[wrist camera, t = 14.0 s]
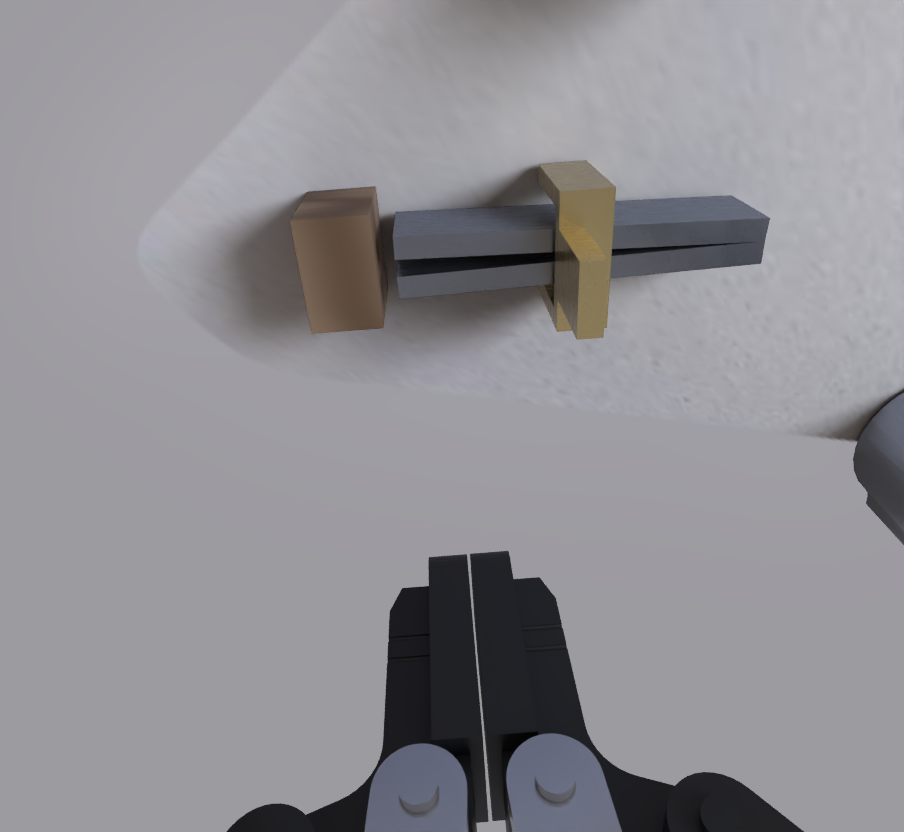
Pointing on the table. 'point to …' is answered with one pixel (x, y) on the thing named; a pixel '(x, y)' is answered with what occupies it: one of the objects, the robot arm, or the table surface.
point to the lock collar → (579, 247)
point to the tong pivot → (341, 259)
